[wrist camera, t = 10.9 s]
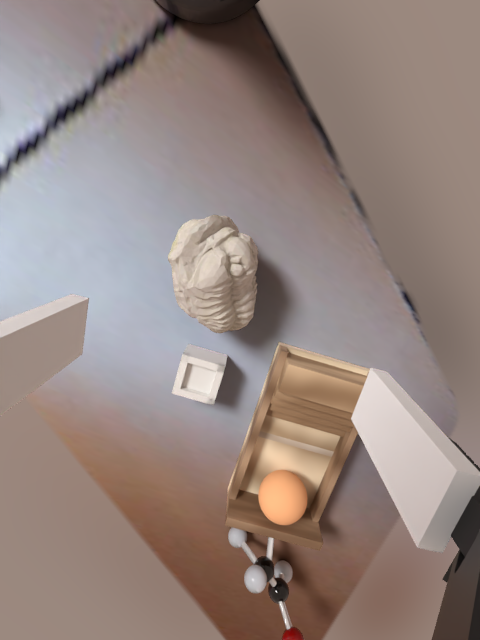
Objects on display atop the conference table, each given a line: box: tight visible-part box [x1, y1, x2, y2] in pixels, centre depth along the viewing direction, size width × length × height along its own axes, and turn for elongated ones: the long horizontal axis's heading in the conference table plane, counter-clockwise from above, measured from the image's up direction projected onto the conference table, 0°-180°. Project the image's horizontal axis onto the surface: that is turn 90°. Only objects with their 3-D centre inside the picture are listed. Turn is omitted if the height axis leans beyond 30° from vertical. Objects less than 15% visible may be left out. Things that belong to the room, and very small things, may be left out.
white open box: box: [172, 344, 227, 405], centre depth 40 cm, size 5×5×4 cm
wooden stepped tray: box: [225, 342, 370, 551], centre depth 40 cm, size 22×12×6 cm, turn 163°
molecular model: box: [228, 528, 304, 640], centre depth 43 cm, size 8×12×11 cm
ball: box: [258, 470, 308, 525], centre depth 41 cm, size 6×6×6 cm
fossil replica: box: [168, 215, 258, 333], centre depth 34 cm, size 12×8×10 cm
